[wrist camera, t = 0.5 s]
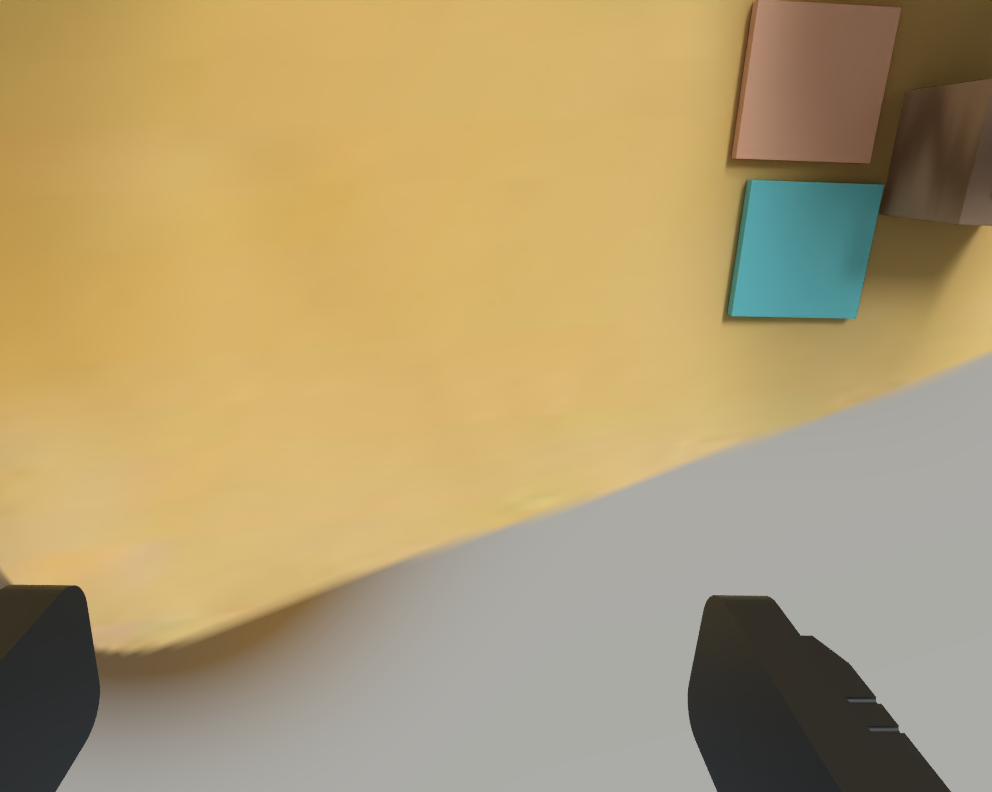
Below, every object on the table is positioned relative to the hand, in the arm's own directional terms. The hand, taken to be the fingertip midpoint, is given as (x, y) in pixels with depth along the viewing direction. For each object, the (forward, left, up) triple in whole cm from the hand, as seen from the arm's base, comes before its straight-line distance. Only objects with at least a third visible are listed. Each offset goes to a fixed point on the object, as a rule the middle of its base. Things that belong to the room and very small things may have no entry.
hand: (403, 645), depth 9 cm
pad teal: (-2, +19, -28) cm, 34 cm away
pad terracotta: (-10, +18, -28) cm, 35 cm away
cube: (-7, +26, -29) cm, 40 cm away
